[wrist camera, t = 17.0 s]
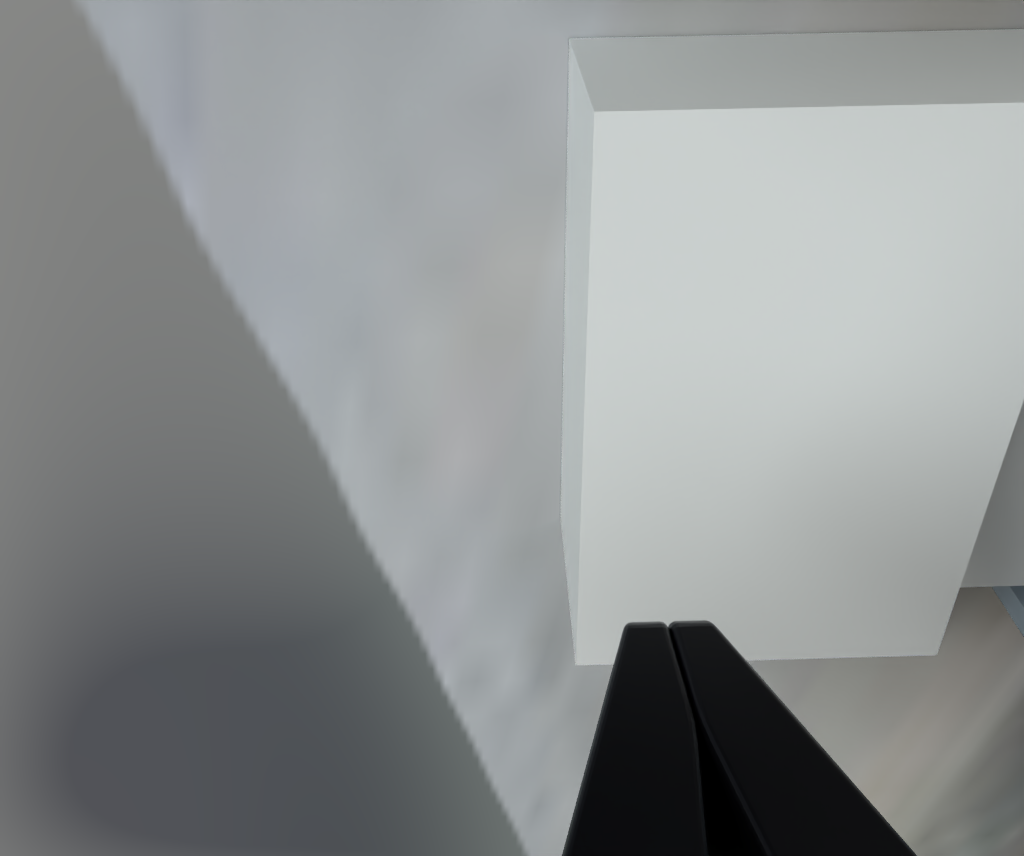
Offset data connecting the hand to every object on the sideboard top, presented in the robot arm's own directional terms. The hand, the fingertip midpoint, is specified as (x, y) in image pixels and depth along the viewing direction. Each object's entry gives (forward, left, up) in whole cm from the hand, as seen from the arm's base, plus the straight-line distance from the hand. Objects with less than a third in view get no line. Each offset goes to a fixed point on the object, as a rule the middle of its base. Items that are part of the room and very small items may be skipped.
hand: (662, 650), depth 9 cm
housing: (+3, +10, -13) cm, 17 cm away
